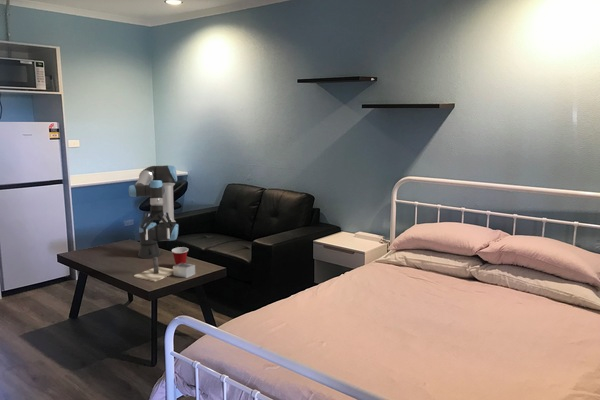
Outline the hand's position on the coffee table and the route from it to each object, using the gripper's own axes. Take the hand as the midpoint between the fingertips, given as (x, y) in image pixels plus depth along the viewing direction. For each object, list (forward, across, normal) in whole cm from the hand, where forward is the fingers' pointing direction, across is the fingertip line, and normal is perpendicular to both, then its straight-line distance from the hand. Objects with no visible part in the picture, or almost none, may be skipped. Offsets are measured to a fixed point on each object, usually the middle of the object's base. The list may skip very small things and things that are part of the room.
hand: (157, 239), depth 294 cm
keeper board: (+22, 0, +6) cm, 23 cm away
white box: (+23, +15, -4) cm, 28 cm away
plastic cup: (+20, +19, +12) cm, 30 cm away
